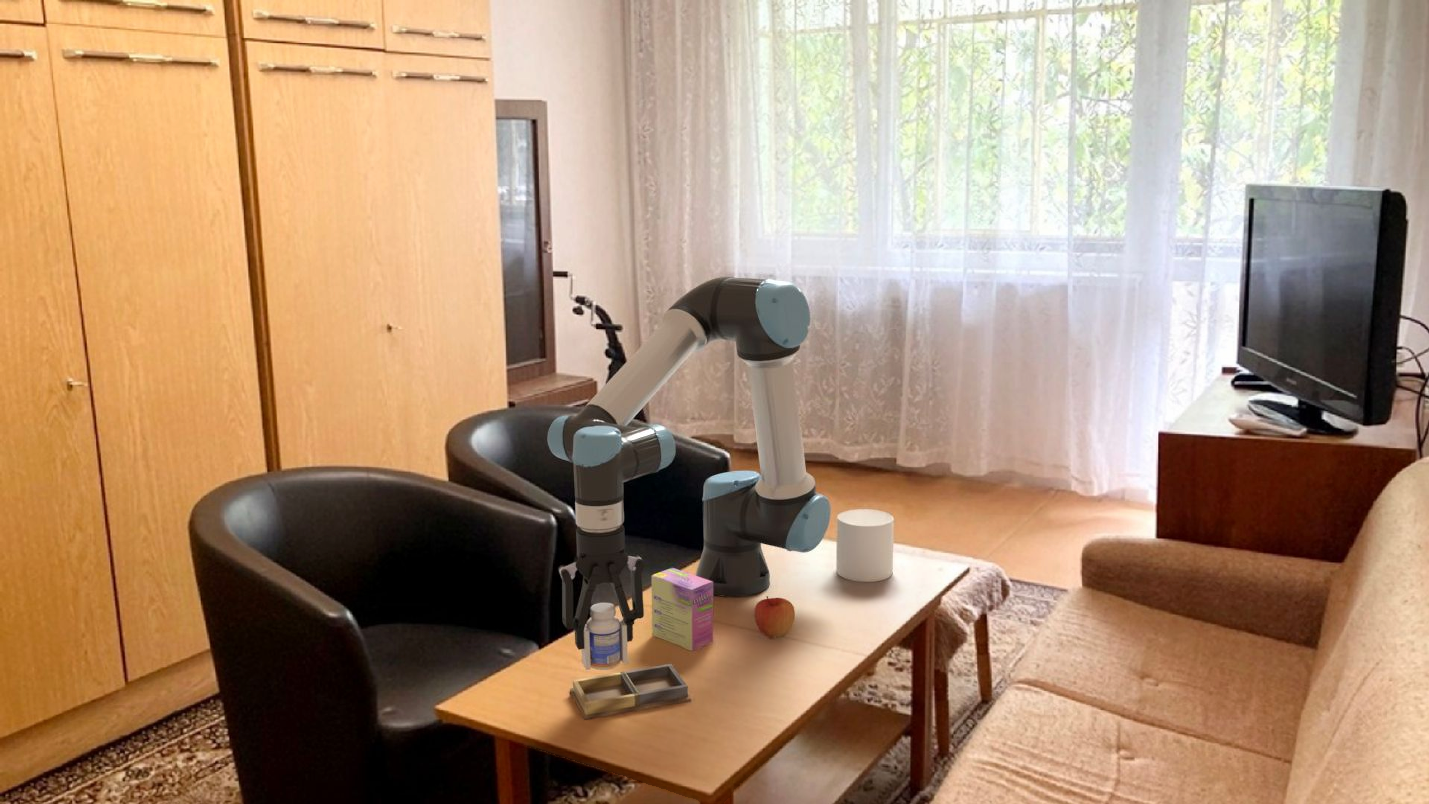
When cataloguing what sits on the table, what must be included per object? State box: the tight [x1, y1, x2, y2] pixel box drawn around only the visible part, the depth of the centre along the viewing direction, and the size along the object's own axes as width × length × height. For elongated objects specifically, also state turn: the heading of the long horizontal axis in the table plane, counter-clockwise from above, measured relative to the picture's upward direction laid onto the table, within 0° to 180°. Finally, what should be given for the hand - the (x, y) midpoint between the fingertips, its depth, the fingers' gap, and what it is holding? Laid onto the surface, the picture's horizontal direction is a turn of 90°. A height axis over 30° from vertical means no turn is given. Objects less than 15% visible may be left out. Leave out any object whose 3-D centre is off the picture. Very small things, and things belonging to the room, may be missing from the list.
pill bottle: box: [585, 602, 622, 671], centre depth 183 cm, size 5×5×10 cm
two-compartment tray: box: [569, 663, 692, 720], centre depth 186 cm, size 18×10×2 cm, turn 110°
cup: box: [835, 508, 895, 583], centre depth 238 cm, size 12×12×12 cm
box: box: [651, 567, 714, 652], centre depth 206 cm, size 10×6×12 cm, turn 47°
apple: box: [754, 596, 796, 640], centre depth 207 cm, size 7×7×8 cm
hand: (604, 662), depth 183 cm, fingers closed on pill bottle, 5 cm apart
